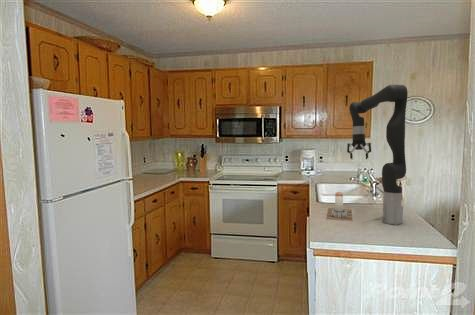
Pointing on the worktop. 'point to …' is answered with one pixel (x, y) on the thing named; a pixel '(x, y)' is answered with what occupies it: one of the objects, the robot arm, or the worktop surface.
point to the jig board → (348, 218)
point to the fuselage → (338, 202)
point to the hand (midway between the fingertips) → (359, 159)
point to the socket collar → (339, 214)
